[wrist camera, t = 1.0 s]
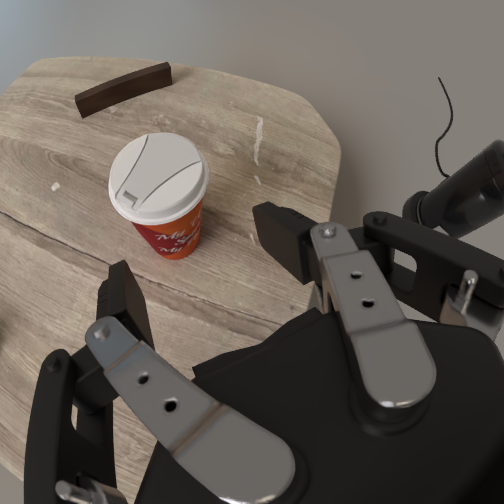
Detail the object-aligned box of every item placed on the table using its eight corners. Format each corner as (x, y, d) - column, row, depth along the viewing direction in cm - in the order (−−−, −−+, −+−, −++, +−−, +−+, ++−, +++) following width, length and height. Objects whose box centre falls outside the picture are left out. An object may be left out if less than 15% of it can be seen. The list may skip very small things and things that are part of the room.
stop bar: (169, 79, 38) (167, 61, 35) (172, 84, 38) (170, 67, 34) (81, 111, 34) (74, 95, 31) (82, 118, 34) (75, 102, 30)
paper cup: (184, 282, 29) (164, 238, 16) (130, 246, 30) (83, 185, 16) (221, 225, 32) (231, 151, 19) (169, 195, 32) (151, 113, 19)
